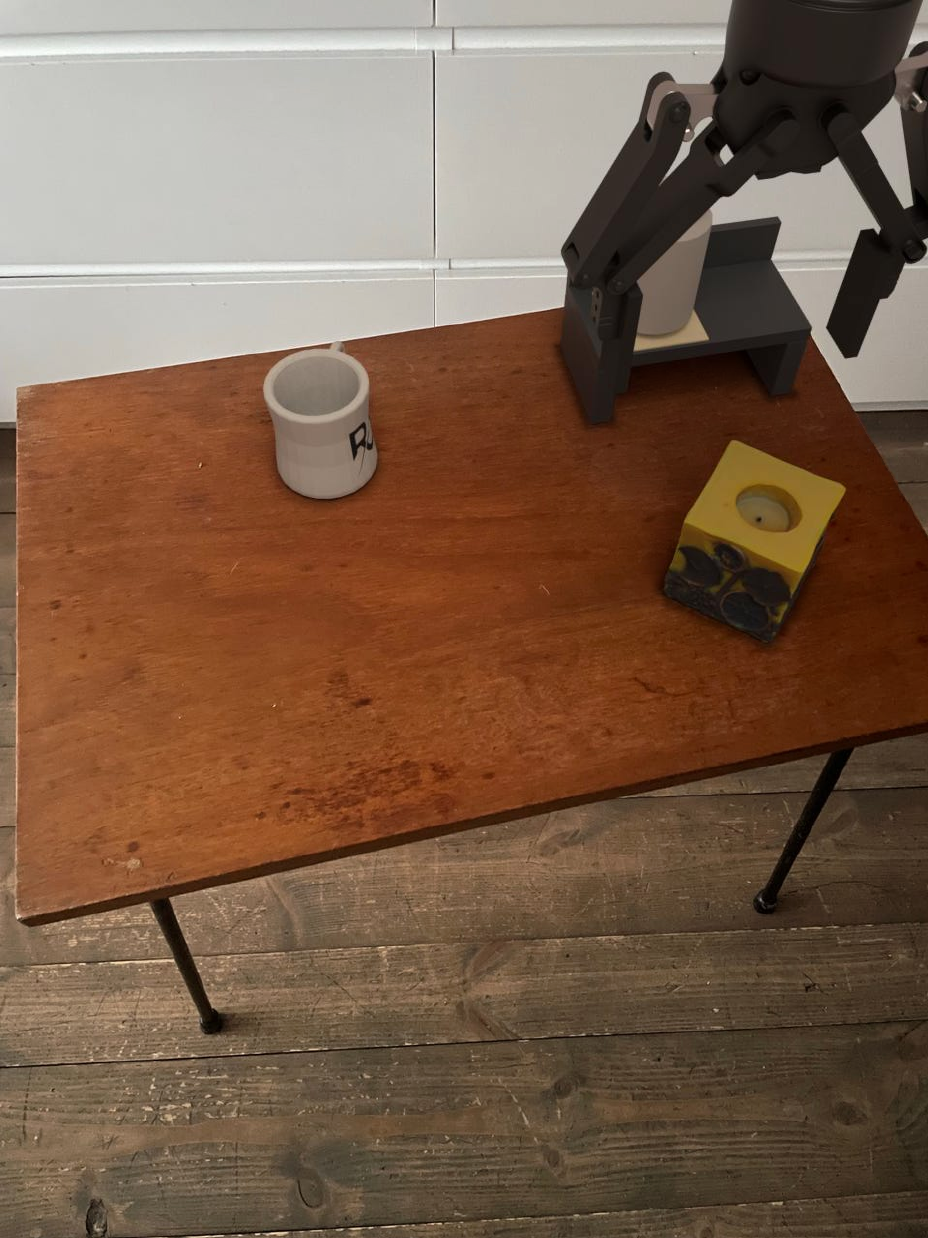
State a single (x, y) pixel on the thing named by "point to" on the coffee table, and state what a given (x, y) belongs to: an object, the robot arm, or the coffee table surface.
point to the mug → (321, 422)
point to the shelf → (705, 318)
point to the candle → (751, 540)
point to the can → (674, 282)
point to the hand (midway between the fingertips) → (728, 359)
